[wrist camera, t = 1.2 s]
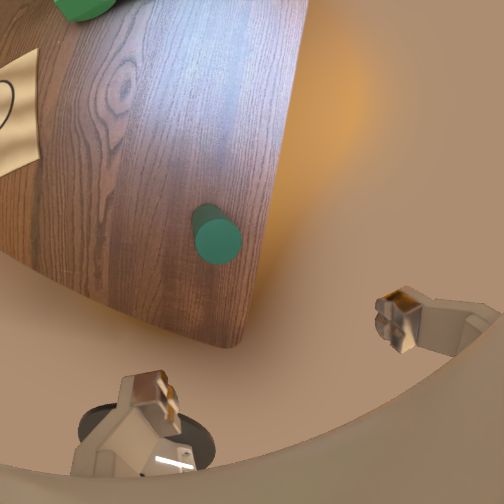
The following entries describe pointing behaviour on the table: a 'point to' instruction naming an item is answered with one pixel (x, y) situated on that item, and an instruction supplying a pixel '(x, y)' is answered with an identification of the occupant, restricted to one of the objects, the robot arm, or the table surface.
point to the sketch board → (19, 113)
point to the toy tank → (83, 8)
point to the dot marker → (215, 235)
